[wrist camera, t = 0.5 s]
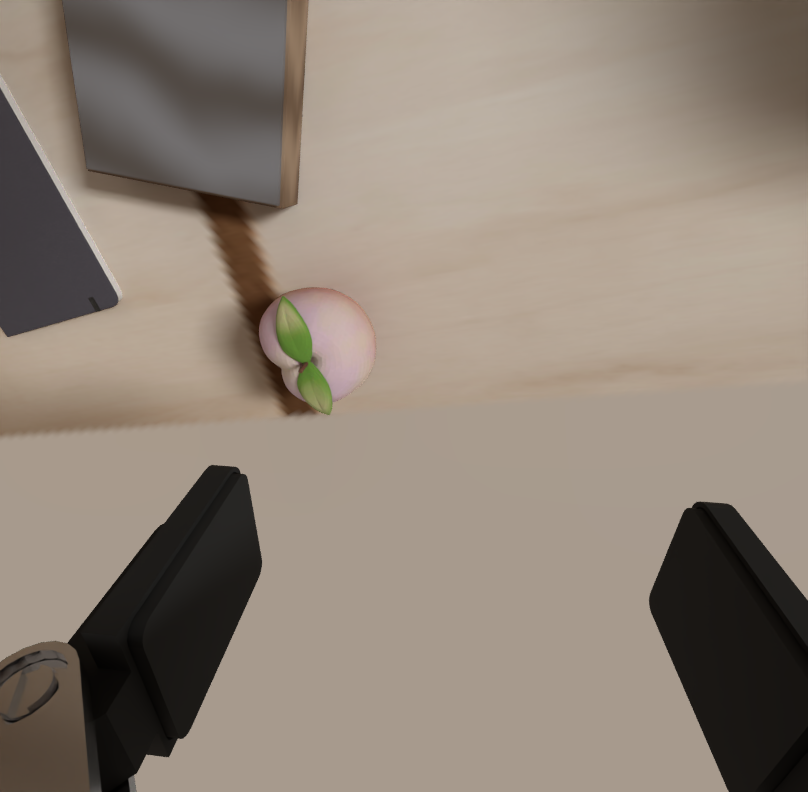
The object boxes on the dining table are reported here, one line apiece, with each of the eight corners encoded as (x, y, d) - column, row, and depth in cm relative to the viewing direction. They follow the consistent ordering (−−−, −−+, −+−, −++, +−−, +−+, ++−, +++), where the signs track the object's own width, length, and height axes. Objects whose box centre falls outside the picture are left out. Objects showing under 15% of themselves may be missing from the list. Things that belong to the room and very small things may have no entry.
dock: (92, -75, 29) (43, -106, 25) (310, -32, 29) (290, -57, 25) (120, 169, 36) (84, 171, 32) (297, 203, 36) (280, 209, 32)
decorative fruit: (401, 350, 41) (388, 405, 32) (323, 382, 43) (290, 442, 34) (351, 251, 37) (320, 282, 28) (268, 292, 39) (216, 333, 31)
